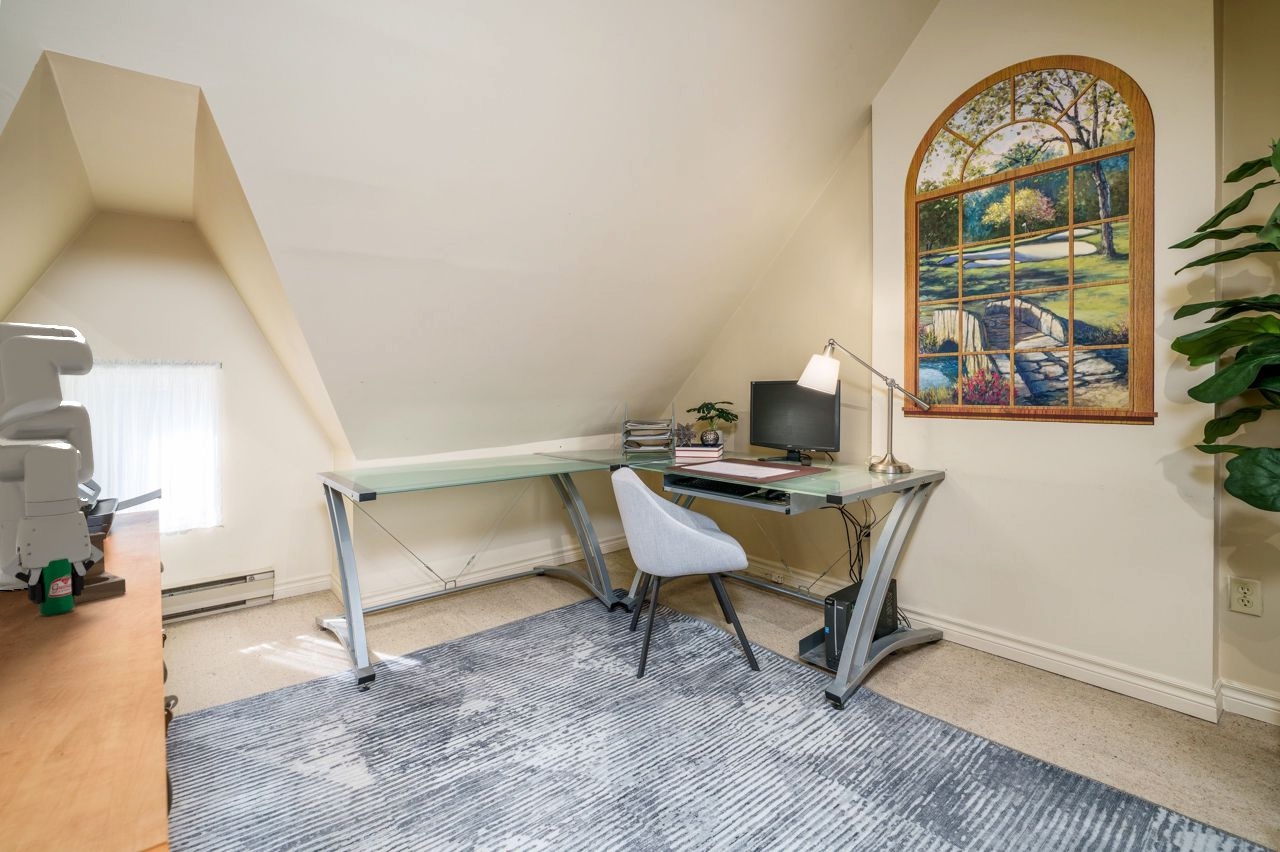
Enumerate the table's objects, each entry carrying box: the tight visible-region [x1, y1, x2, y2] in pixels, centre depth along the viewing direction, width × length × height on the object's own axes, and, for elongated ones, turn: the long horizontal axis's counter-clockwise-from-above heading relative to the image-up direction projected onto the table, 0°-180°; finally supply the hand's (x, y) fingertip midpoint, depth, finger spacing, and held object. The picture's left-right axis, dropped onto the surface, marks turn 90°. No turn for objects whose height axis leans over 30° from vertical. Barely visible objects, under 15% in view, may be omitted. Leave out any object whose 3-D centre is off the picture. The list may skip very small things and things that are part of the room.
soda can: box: [38, 558, 76, 617], centre depth 118 cm, size 5×5×12 cm
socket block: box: [74, 531, 127, 605], centre depth 129 cm, size 14×10×12 cm
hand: (56, 598), depth 118 cm, fingers closed on soda can, 5 cm apart
